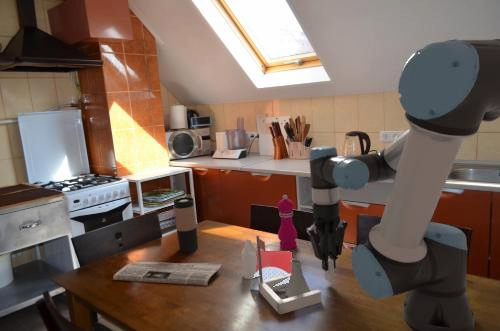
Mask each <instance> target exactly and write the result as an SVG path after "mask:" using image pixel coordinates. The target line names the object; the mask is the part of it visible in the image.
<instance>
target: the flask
mask: <svg viewBox="0 0 500 331" xmlns="http://www.w3.org/2000/svg"><path fill="white" fill-rule="evenodd" d="M302 262H303V260H301V259H300V258H294V259H290V261H289V263H290V265H291V271H290V273H291V277H290V280H289V284H288V286H287V287H286V291H285V294H284V295H285V296H286V297H287V298H290V297H293V296H297V295H300V294H304V293H307V292H311V290H310V288H309V286H308V283H307V281H306V279H305V276H304V273H303V269H302Z"/></svg>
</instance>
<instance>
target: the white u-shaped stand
mask: <svg viewBox="0 0 500 331" xmlns="http://www.w3.org/2000/svg"><path fill="white" fill-rule="evenodd" d="M265 244H266V242H265V241H264V239H263V238H261V237H260V235H256V249H257V250H258V262H259V275H260V276H259V281H258V282H257V283H258V285H257V286H258V292H259V293H260V295H262V296H263V298H264V299H265V300H266V301H267V302H268V303H269V304H270V306H272V308H273V309H274V310H275V312H277V313H278V315H283V314H287V313H291V312H293V311H296V310H300V309H303V308H307V307H309V306H313V305H317V304H320V303H322V300H323V299H322V291H321V290H320V289H315V290H312V291H311V290H310V292H307V293H304V294H300V295H297V296H293V297H290V298H288V297H287V298H284V299H282V298H280V296H278V294H276V292H275V290H280V289H282V288H287V287H288V284H289V283H286V284H282V285H279V286H275V285H276V284H278V283H280V282H282V281H283V280H285V279H287V278H288V277H291V272H290V273H288V274H289V275H287V276H282V275H279V276H275V277H272V278H268V279H264V278H263V267H262V255H261V250H262V251H263V252H266V245H265ZM273 286H275V287H273Z"/></svg>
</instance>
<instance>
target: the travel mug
mask: <svg viewBox="0 0 500 331" xmlns="http://www.w3.org/2000/svg"><path fill="white" fill-rule="evenodd" d="M173 207H174V216H175V226H176V232H177V240H178V247H179V251H180V252H182V253H192V252H195V251H197V250H198V249H199V246H198V245H199V242H198V230H197V229H198V228H197V227H198V226H197V221H196V220H197V219H196V211H195V202H194V198H193V197H190V196H188V197H179V198H176V199H174V200H173Z"/></svg>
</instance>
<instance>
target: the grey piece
mask: <svg viewBox="0 0 500 331" xmlns="http://www.w3.org/2000/svg"><path fill="white" fill-rule="evenodd" d="M257 251H258V250H257V246H255V244H254V243H253V242H252V240H251V239H248V238H247V239H246V240H245V241H244V246H243V249H242V251H241V253H240V259H241V268H242V275H243V278H244V279H245V280H254V279H253V277H254V274H255V272H256V265H257V256H256V252H257Z"/></svg>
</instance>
